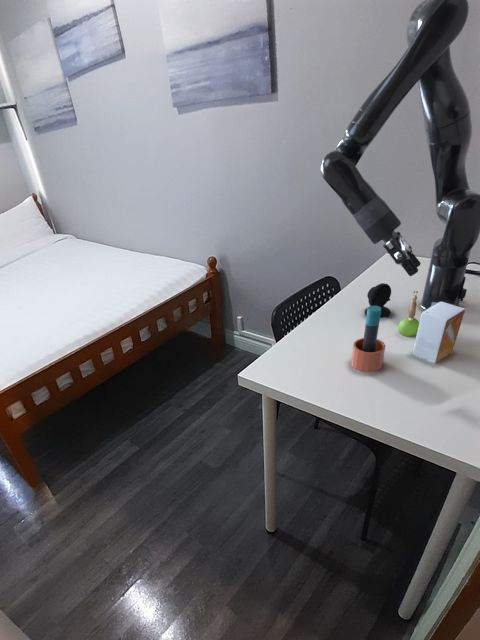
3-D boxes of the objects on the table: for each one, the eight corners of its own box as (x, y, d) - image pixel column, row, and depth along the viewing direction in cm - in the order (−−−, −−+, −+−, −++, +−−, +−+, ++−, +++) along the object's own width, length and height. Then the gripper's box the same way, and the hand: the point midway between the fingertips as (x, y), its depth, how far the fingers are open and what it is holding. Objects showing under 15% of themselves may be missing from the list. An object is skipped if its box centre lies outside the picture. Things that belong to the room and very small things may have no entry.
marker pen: (367, 359, 107) (375, 304, 97) (375, 364, 104) (384, 309, 95) (357, 362, 106) (364, 307, 97) (365, 368, 104) (373, 312, 94)
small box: (434, 366, 102) (446, 320, 94) (411, 356, 106) (420, 312, 99) (453, 353, 105) (466, 308, 97) (429, 344, 110) (440, 300, 102)
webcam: (377, 306, 130) (381, 276, 124) (396, 314, 124) (401, 284, 118) (358, 313, 128) (362, 284, 122) (377, 322, 122) (381, 292, 116)
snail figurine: (418, 329, 116) (427, 291, 109) (418, 341, 111) (427, 301, 104) (397, 328, 118) (404, 290, 111) (396, 339, 114) (403, 300, 106)
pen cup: (369, 355, 109) (372, 334, 106) (388, 369, 104) (392, 347, 100) (345, 363, 108) (347, 342, 104) (363, 377, 102) (366, 356, 98)
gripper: (386, 211, 94) (429, 266, 94) (393, 206, 104) (432, 255, 105) (358, 234, 98) (399, 286, 99) (367, 227, 109) (404, 273, 110)
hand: (416, 270), depth 102 cm, fingers open, 8 cm apart
